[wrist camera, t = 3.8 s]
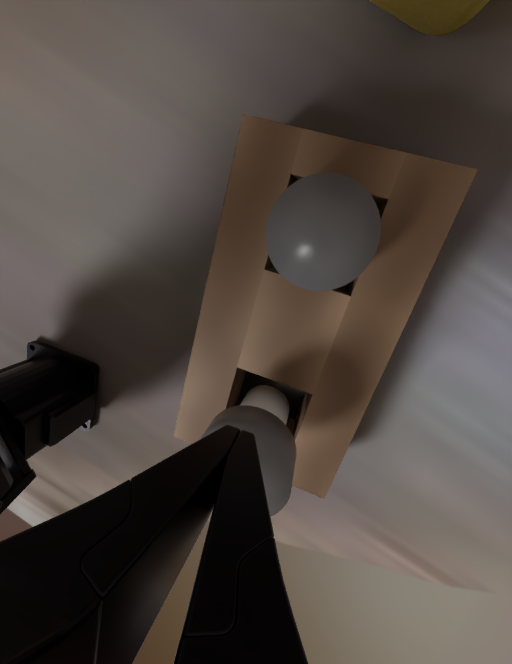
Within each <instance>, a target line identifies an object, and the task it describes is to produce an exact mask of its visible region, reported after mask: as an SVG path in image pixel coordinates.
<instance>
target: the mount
mask: <svg viewBox="0 0 512 664" xmlns="http://www.w3.org/2000/svg"><path fill="white" fill-rule="evenodd" d="M477 171H478V169H475V168H471V167H466V166H462V165H458V164H453V163H449V162H445V161H441V160H436V159H432V158H428V157H423V156H419V155H415V154H411V153H406V152H402V151H398V150H394V149H389V148H385V147H381V146H376V145H372V144H368V143H364V142H359V141H355V140H351V139H346V138H342V137H338V136H334V135H329V134H325V133H321V132H316V131H312V130H308V129H304V128H299V127H295V126H291V125H287V124H282V123H278V122H274V121H269V120H265V119H261V118H257V117H252V116H248V115H244V114H243V116H242V121H241V125H240V130H239V134H238V139H237V144H236V148H235V153H234V158H233V162H232V167H231V172H230V176H229V181H228V185H227V190H226V195H225V199H224V204H223V209H222V213H221V218H220V222H219V227H218V232H217V236H216V241H215V246H214V250H213V255H212V259H211V264H210V269H209V273H208V278H207V283H206V287H205V292H204V297H203V301H202V306H201V310H200V315H199V320H198V324H197V329H196V334H195V338H194V343H193V347H192V352H191V357H190V361H189V366H188V371H187V375H186V380H185V385H184V389H183V394H182V398H181V403H180V408H179V412H178V417H177V422H176V426H175V431H174V435H173V437H176V438H178V439H181V440H183V441H185V442H188V443H190V444H193V443H195V442H197V441H198V440H200V438H201V437H202V435H203V434H204V432H205V431H206V429H207V428H208V426H209V425H210V423H211V422H212V421H213V419H214V418H215V417H216V416H217V415H218V414H219V413H220V412H222V411H223V410H225V409H227V408H230V407H233V406H239V405H240V404H241V403H242V401H243V400H241V399H238V398H239V395H240V391H241V388H242V385H243V381H244V378H245V374H246V371H249V372H251V373H254V374H257V375H260V376H262V377H265V378H268V379H271V380H273V381H276V382H279V383H282V384H284V385H287V386H290V387H293V388H295V389H298V390H301V391H304V392H306V394H305V396H304V399H303V402H302V404H301V407H300V410H299V412H298V415H297V418H296V420H294V419H291V418H288V419H287V423H286V426H287V427H288V428H289V430H290V432H291V433H292V435H293V437H294V440H295V443H296V453H297V454H296V461H295V468H294V474H293V481H292V486H294V487H297V488H299V489H302V490H304V491H307V492H309V493H311V494H314V495H316V496H319V497H321V498H325V496H326V494H327V492H328V490H329V487H330V485H331V483H332V481H333V479H334V477H335V475H336V472H337V470H338V468H339V466H340V464H341V462H342V460H343V457H344V455H345V453H346V451H347V449H348V447H349V445H350V442H351V440H352V438H353V436H354V434H355V432H356V430H357V427H358V425H359V423H360V421H361V419H362V417H363V415H364V413H365V410H366V408H367V406H368V404H369V402H370V400H371V398H372V395H373V393H374V391H375V389H376V387H377V385H378V383H379V380H380V378H381V376H382V374H383V372H384V370H385V368H386V365H387V363H388V361H389V359H390V357H391V355H392V353H393V350H394V348H395V346H396V344H397V342H398V340H399V338H400V335H401V333H402V331H403V329H404V327H405V325H406V323H407V321H408V318H409V316H410V314H411V312H412V310H413V308H414V306H415V303H416V301H417V299H418V297H419V295H420V293H421V291H422V288H423V286H424V284H425V282H426V280H427V278H428V276H429V273H430V271H431V269H432V267H433V265H434V263H435V261H436V258H437V256H438V254H439V252H440V250H441V248H442V246H443V243H444V241H445V239H446V237H447V235H448V233H449V231H450V228H451V226H452V224H453V222H454V220H455V218H456V216H457V214H458V211H459V209H460V207H461V205H462V203H463V201H464V199H465V196H466V194H467V192H468V190H469V188H470V186H471V184H472V181H473V179H474V177H475V175H476V173H477ZM324 172H329V173H338V174H342V175H345V176H348V177H350V178H352V179H354V180H356V181H357V182H359V183H360V184H361V185H363V186H364V187H365V188H366V189H367V190H368V192H369V193H370V194H371V196H372V197H373V199H374V201H375V203H376V205H377V208H378V210H379V215H380V220H381V236H380V241H379V245H378V248H377V251H376V253H375V255H374V257H373V259H372V261H371V262H370V264H369V265H368V267H367V268H366V269H365V270H364V271H363V272H362V273H361V274H360V275H359V276H358V277H357V278H355V279H354V280H353V281H351V282H350V283H348V284H347V285H346V286H342V287H339V288H336V289H333V290H327V291H311V290H306V289H302V288H300V287H297V286H295V285H293V284H292V283H290V282H289V281H287V280H286V279H285V278H284V277H282V276H281V275H280V274H279V272H278V271H277V270H276V269H275V267H274V265H273V264H272V262H271V259H270V257H269V254H268V251H267V246H266V226H267V221H268V217H269V214H270V212H271V210H272V207H273V205H274V204H275V202H276V201H277V199H278V198H279V196H280V195H281V194H282V193H283V192H284V191H285V190H286V189H287V188H288V187H289V186H291V185H292V184H293V183H295V182H296V181H298V180H300V179H301V178H304V177H306V176H309V175H312V174H316V173H324Z"/></svg>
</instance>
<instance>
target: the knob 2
mask: <svg viewBox="0 0 512 664" xmlns="http://www.w3.org/2000/svg"><path fill="white" fill-rule="evenodd" d="M380 236H381V220H380V215H379V210H378V208H377V205H376V203H375V201H374V199H373V197H372V196H371V194H370V193H369V192H368V190H367V189H366V188H365V187H364V186H363V185H361V184H360V183H359V182H357V181H356V180H354V179H352V178H350V177H348V176H345V175H342V174H338V173H329V172H324V173H316V174H312V175H309V176H306V177H304V178H301V179H300V180H298V181H296V182H295V183H293V184H292V185H291V186H289V187H288V188H287V189H286V190H285V191H284V192H283V193H282V194H281V195H280V196H279V198H278V199H277V201H276V202H275V204H274V205H273V207H272V210H271V212H270V214H269V217H268V221H267V226H266V246H267V251H268V254H269V257H270V259H271V262H272V264H273V265H274V267H275V269H276V270H277V271H278V272H279V274H280V275H281V276H282V277H284V278H285V279H286V280H287V281H289V282H290V283H292V284H293V285H295V286H297V287H300V288H302V289H306V290H311V291H327V290H333V289H336V288H339V287H342V286H344V285H346V284H348V283H350V282H351V281H353V280H354V279H355V278H357V277H358V276H359V275H360V274H361V273H362V272H363V271H364V270H365V269H366V268H367V267H368V265H369V264H370V262H371V261H372V259H373V257H374V255H375V253H376V251H377V248H378V245H379V241H380Z"/></svg>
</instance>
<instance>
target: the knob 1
mask: <svg viewBox="0 0 512 664" xmlns="http://www.w3.org/2000/svg"><path fill="white" fill-rule="evenodd" d="M288 415H289V403H288V400H287V398H286V397H285V395H284V394H283V393H282V392H281V391H280V390H278V389H277V388H275V387H272V386H268V385H259V386H256V387H254V388H252V389H250V390H249V391H248V392H247V394H246V396H245V397H244V399H243V401H242V403H241V404H240V405H239V406H233V407H230V408H227V409H225V410H223V411H222V412H220V413H219V414H218V415H217V416H216V417H215V418H214V419H213V421H212V422H211V423H210V425H209V426H208V428H207V429H206V431H205V432H204V434H203V435H202V437H201V438H200V439H202V438H204V437H205V436H207V435H209V434H211V433H212V432H214V431H216V430H218V429H219V428H221V427H223V426H225V425H231V426H234V427H237V428H239V429H240V431H241V430H245V431H248V432H251V433H253V434H254V435H255V439H256V445H257V450H258V455H259V460H260V465H261V471H262V476H263V481H264V486H265V492H266V497H267V502H268V507H269V512H270V516H273V515H275V514H276V513H278V512H279V511H280V510H281V509H282V508H283V507H284V506H285V504H286V503H287V501H288V499H289V497H290V494H291V488H292V481H293V474H294V468H295V461H296V454H297V453H296V443H295V440H294V437H293V435H292V433H291V432H290V430H289V428H288V427H287V426H286V423H287V419H288Z"/></svg>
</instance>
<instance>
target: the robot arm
mask: <svg viewBox="0 0 512 664" xmlns="http://www.w3.org/2000/svg"><path fill="white" fill-rule="evenodd" d="M91 369H92V370H91ZM98 373H99V368H98V366H97V365H96V364H95V363H92V362H90V361H87V360H85V359H82V358H80V357H77V356H74V355H72V354H69V353H67V352H64V351H62V350H59V349H57V348H54V347H51V346H49V345H46V344H44V343H41V342H39V341H32V342H29V343H28V345H27V360H25V361H22V362H19V363H17V364H14V365H11V366H8V367H6V368H3V369H0V514H1V513H2V512H3V511H4V510H5V509H6V508H7V507H8V506H9V505H10V504H11V503H12V501H13V500H14V499H15V498H16V497H17V496H18V495H19V494H20V493H21V492H22V491H23V490H24V489H25V488H26V487H27V486H28V485H29V484H30V483H31V482H32V481H33V480H34V478H35V477H36V474H35V472H34V470H33V469H31V468H30V466H29V464H28V462H27V459H28V458H30V457H31V456H33V455H34V454H35V453H37V452H38V451H40V450H41V449H43V448H44V447H45V446H47V445H48V446H50V447H51V446H53V445H55V444H57V443H58V442H59V441H61V440H62V439H64V438H65V437H66V436H68V435H69V434H71V433H72V432H73V431H75V430H76V429H78V428H79V429H82V430H84V431H88V430H89V429H91V428H92V427H93V422H94V413H95V403H96V394H97V383H98ZM213 507H214V508H213ZM212 510H213V512H212ZM211 512H212V516H211V520H210V523H209V527H208V531H207V535H206V539H205V543H204V547H203V551H202V555H201V559H200V562H199V566H198V570H197V574H196V578H195V582H194V586H193V590H192V594H191V597H190V602H189V605H188V609H187V613H186V617H185V621H184V625H183V629H182V633H181V636H180V640H179V644H178V648H177V652H176V656H175V660H174V664H308V662H307V658H306V655H305V651H304V648H303V645H302V642H301V639H300V635H299V632H298V629H297V626H296V622H295V619H294V616H293V613H292V609H291V606H290V602H289V598H288V595H287V592H286V588H285V584H284V581H283V576H282V572H281V567H280V563H279V559H278V554H277V549H276V543H275V539H274V538H273V537H274V533H273V528H272V523H271V518H270V512H269V507H268V502H267V497H266V492H265V486H264V481H263V476H262V471H261V465H260V460H259V455H258V450H257V445H256V439H255V435H254V434H253V433H251V432H248V431H245V430H241V431H240V429H239V428H237V427H234V426H231V425H225V426H223V427H221V428H219V429H218V430H216V431H214V432H212V433H211V434H209V435H207V436H205V437H204V438H202V439H200V440H198V441H197V442H195V443H193V444H191V445H189V446H188V447H186V448H184V449H182V450H181V451H179V452H177V453H175V454H174V455H172V456H170V457H168V458H166V459H165V460H163V461H161V462H159V463H158V464H156V465H154V466H152V467H151V468H149V469H147V470H145V471H144V472H142V473H140V474H138V475H136V476H135V477H133V478H132V479H131V480H127V481H126V482H124V483H122V484H120V485H118V486H117V487H115V488H113V489H111V490H109V491H107V492H106V493H104V494H102V495H100V496H98V497H96V498H94V499H92V500H90V501H88V502H86V503H84V504H82V505H80V506H78V507H76V508H74V509H71V510H69V511H67V512H65V513H63V514H61V515H59V516H56V517H54V518H52V519H50V520H47V521H45V522H43V523H41V524H39V525H36V526H34V527H32V528H30V529H28V530H25V531H23V532H21V533H19V534H16V535H14V536H12V537H10V538H8V539H6V540H3V541H1V542H0V664H132V663H133V661H134V659H135V657H136V655H137V653H138V651H139V650H140V648H141V646H142V644H143V642H144V640H145V638H146V636H147V634H148V632H149V630H150V629H151V626H152V625H153V623H154V621H155V619H156V617H157V615H158V613H159V611H160V610H161V608H162V606H163V604H164V602H165V600H166V598H167V596H168V594H169V592H170V590H171V589H172V587H173V585H174V583H175V581H176V579H177V577H178V575H179V573H180V571H181V570H182V568H183V566H184V564H185V562H186V560H187V558H188V556H189V554H190V552H191V550H192V549H193V547H194V545H195V543H196V541H197V539H198V537H199V535H200V533H201V531H202V529H203V528H204V526H205V524H206V522H207V520H208V518H209V516H210V514H211Z"/></svg>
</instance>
